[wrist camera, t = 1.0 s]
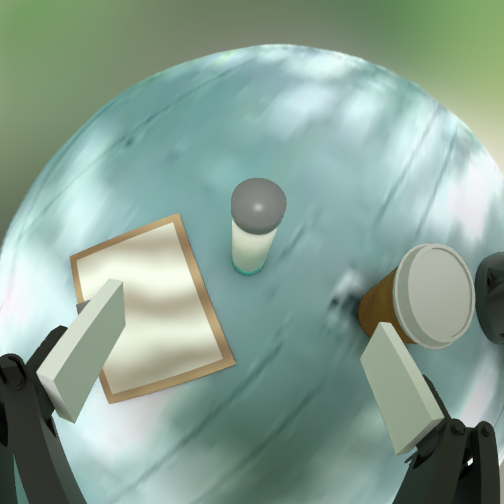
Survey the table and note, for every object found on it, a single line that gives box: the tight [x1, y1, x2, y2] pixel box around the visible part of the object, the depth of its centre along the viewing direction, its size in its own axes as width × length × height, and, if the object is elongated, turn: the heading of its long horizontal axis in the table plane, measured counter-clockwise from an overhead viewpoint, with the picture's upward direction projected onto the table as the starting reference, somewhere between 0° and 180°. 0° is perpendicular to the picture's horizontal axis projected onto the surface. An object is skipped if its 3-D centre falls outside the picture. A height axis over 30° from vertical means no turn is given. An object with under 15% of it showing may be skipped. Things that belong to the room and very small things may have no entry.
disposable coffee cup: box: [358, 243, 475, 350], centre depth 24 cm, size 10×10×12 cm
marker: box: [231, 178, 286, 276], centre depth 25 cm, size 4×4×13 cm
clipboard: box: [70, 213, 236, 404], centre depth 28 cm, size 18×15×2 cm
